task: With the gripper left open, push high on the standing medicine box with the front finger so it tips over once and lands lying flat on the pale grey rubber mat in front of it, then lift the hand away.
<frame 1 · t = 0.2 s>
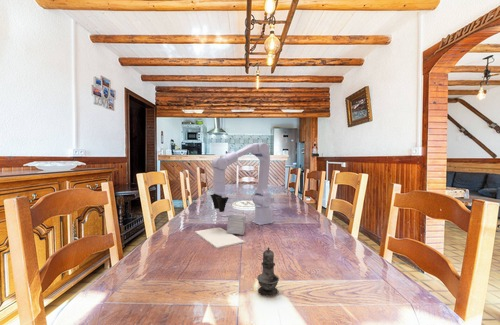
hand: (219, 210, 120), 10 cm above the table, tool pointing down, fingers open, 7 cm apart
medicine box: (235, 233, 115), on the table, touching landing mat
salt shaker: (267, 291, 66), on the table
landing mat: (218, 237, 110), on the table
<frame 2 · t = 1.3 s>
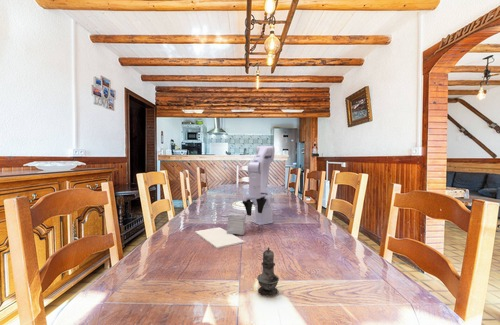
hand: (254, 214, 120), 8 cm above the table, tool pointing down, fingers open, 7 cm apart
nothing on the table moved.
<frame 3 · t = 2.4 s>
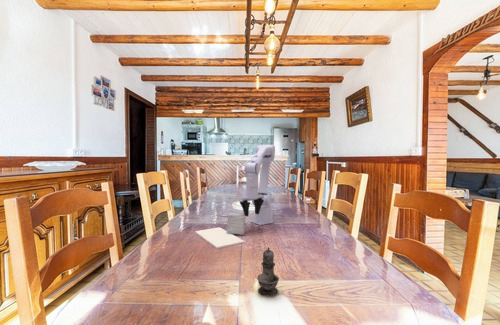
hand: (251, 214, 119), 8 cm above the table, tool pointing down, fingers open, 6 cm apart
medicine box: (235, 233, 115), on the table, touching gripper, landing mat
everything else where it was.
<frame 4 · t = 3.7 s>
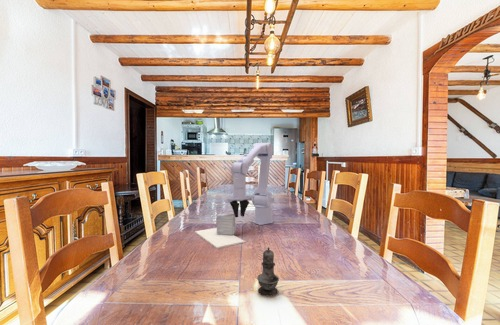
hand: (239, 216, 115), 8 cm above the table, tool pointing down, fingers open, 3 cm apart
medicine box: (226, 233, 113), point 1 cm above the table, touching gripper, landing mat
everything else where it was.
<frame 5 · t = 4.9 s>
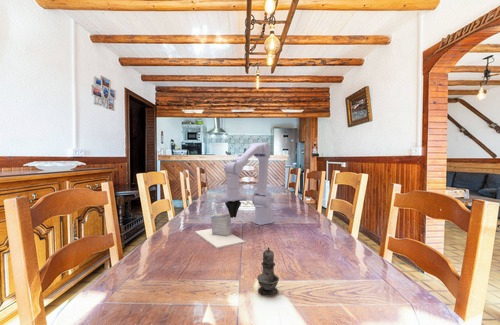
hand: (232, 217, 113), 8 cm above the table, tool pointing down, fingers closed
medicine box: (221, 233, 113), point 1 cm above the table, touching gripper, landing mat
everything else where it was.
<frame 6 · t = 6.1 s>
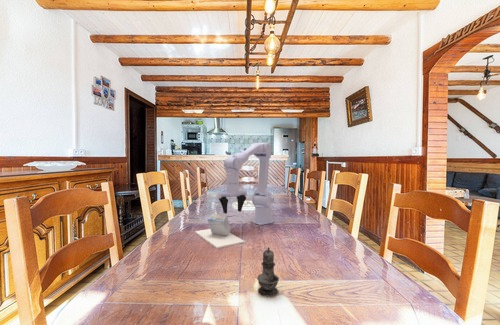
hand: (232, 212, 114), 10 cm above the table, tool pointing down, fingers open, 7 cm apart
medicine box: (221, 232, 113), point 1 cm above the table, touching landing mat
everything else where it was.
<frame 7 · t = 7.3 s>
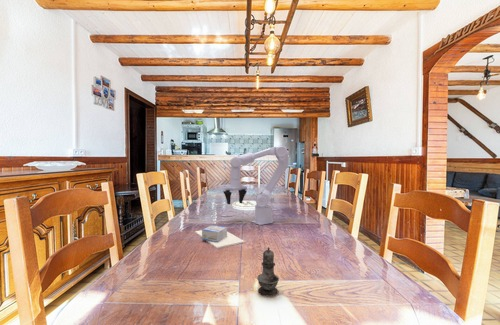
hand: (234, 203, 135), 10 cm above the table, tool pointing down, fingers open, 7 cm apart
medicine box: (219, 230, 111), point 3 cm above the table, touching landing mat
everything else where it was.
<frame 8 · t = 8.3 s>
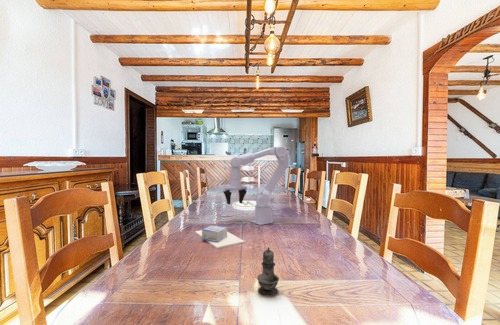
hand: (234, 203, 135), 10 cm above the table, tool pointing down, fingers open, 7 cm apart
nothing on the table moved.
at the end: medicine box tilted 90°; medicine box inside the target area (3.6 cm from its centre), point 2.8 cm above the table; medicine box touching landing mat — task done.
